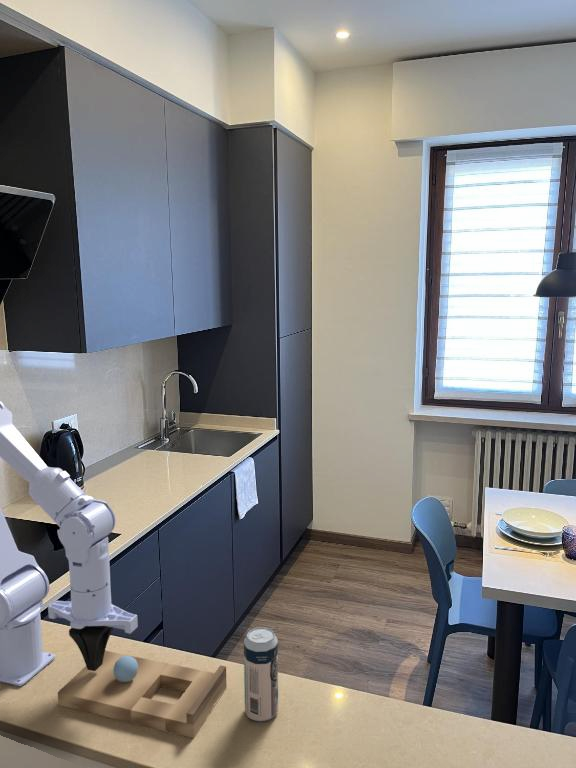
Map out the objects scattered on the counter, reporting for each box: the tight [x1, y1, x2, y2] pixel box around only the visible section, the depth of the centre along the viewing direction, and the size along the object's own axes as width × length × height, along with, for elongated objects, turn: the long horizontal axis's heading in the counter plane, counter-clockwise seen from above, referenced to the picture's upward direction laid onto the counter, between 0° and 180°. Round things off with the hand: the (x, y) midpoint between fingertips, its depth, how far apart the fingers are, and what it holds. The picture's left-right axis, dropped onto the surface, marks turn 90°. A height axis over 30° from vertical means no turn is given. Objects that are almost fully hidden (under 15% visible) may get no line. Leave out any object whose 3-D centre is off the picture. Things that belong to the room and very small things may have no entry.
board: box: [57, 650, 228, 739], centre depth 87 cm, size 22×11×4 cm, turn 72°
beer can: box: [243, 626, 279, 722], centre depth 83 cm, size 5×5×12 cm
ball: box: [113, 655, 138, 682], centre depth 88 cm, size 4×4×4 cm
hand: (95, 666), depth 90 cm, fingers closed
